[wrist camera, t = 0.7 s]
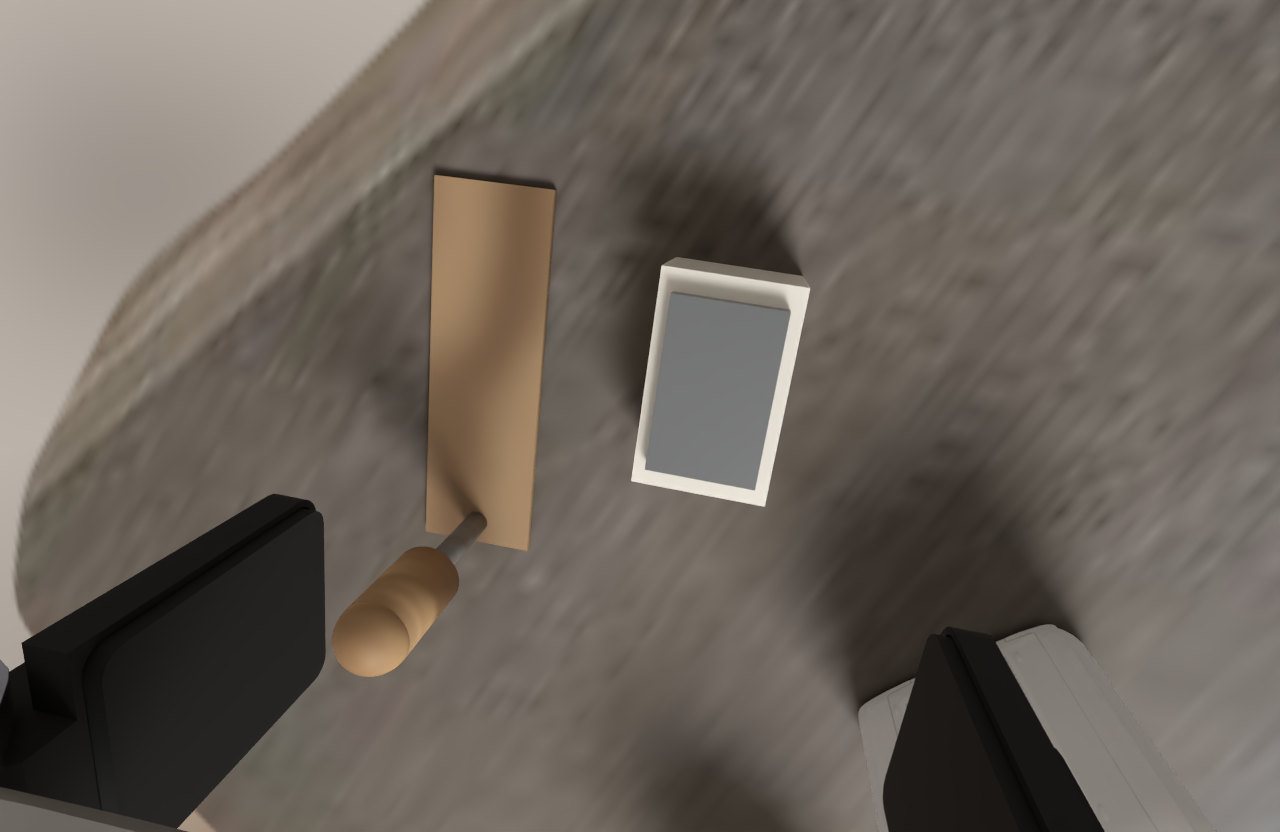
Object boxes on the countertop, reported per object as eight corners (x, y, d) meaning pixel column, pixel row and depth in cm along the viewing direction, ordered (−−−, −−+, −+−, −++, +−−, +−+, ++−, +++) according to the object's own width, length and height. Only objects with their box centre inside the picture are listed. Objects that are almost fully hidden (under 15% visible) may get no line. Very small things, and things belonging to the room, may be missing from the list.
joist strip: (556, 190, 27) (554, 189, 27) (529, 547, 32) (527, 550, 32) (437, 175, 28) (434, 174, 28) (428, 528, 33) (425, 531, 33)
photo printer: (889, 771, 32) (961, 1087, 21) (839, 703, 32) (885, 990, 20) (1106, 679, 29) (1334, 991, 18) (1055, 603, 29) (1257, 873, 17)
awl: (505, 501, 31) (390, 633, 22) (502, 552, 32) (390, 701, 22) (451, 491, 32) (314, 616, 22) (449, 541, 32) (316, 684, 23)
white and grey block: (802, 275, 27) (811, 290, 22) (764, 464, 29) (764, 513, 25) (676, 256, 27) (659, 266, 23) (649, 443, 30) (628, 487, 25)
